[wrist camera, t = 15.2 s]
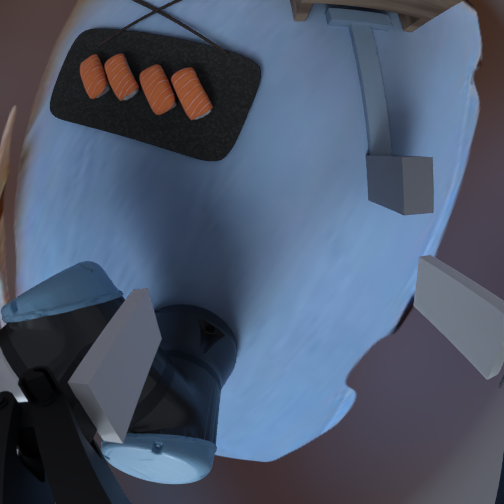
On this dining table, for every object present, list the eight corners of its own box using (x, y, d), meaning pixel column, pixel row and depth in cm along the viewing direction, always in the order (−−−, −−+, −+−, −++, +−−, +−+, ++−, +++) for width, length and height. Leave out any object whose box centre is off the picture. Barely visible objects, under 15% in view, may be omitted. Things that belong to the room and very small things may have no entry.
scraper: (408, 197, 36) (449, 211, 27) (351, 201, 37) (383, 217, 27) (383, 20, 28) (415, -8, 18) (325, 13, 28) (345, -22, 19)
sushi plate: (51, 116, 32) (36, 115, 29) (131, -42, 24) (123, -52, 20) (226, 168, 36) (223, 170, 32) (306, -12, 27) (311, -25, 24)
